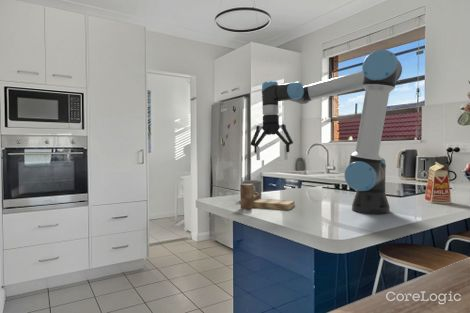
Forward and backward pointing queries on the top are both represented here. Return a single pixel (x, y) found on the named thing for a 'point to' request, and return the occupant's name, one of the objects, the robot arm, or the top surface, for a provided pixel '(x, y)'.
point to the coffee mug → (256, 185)
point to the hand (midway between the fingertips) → (271, 159)
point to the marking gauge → (248, 196)
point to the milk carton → (438, 185)
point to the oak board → (274, 204)
